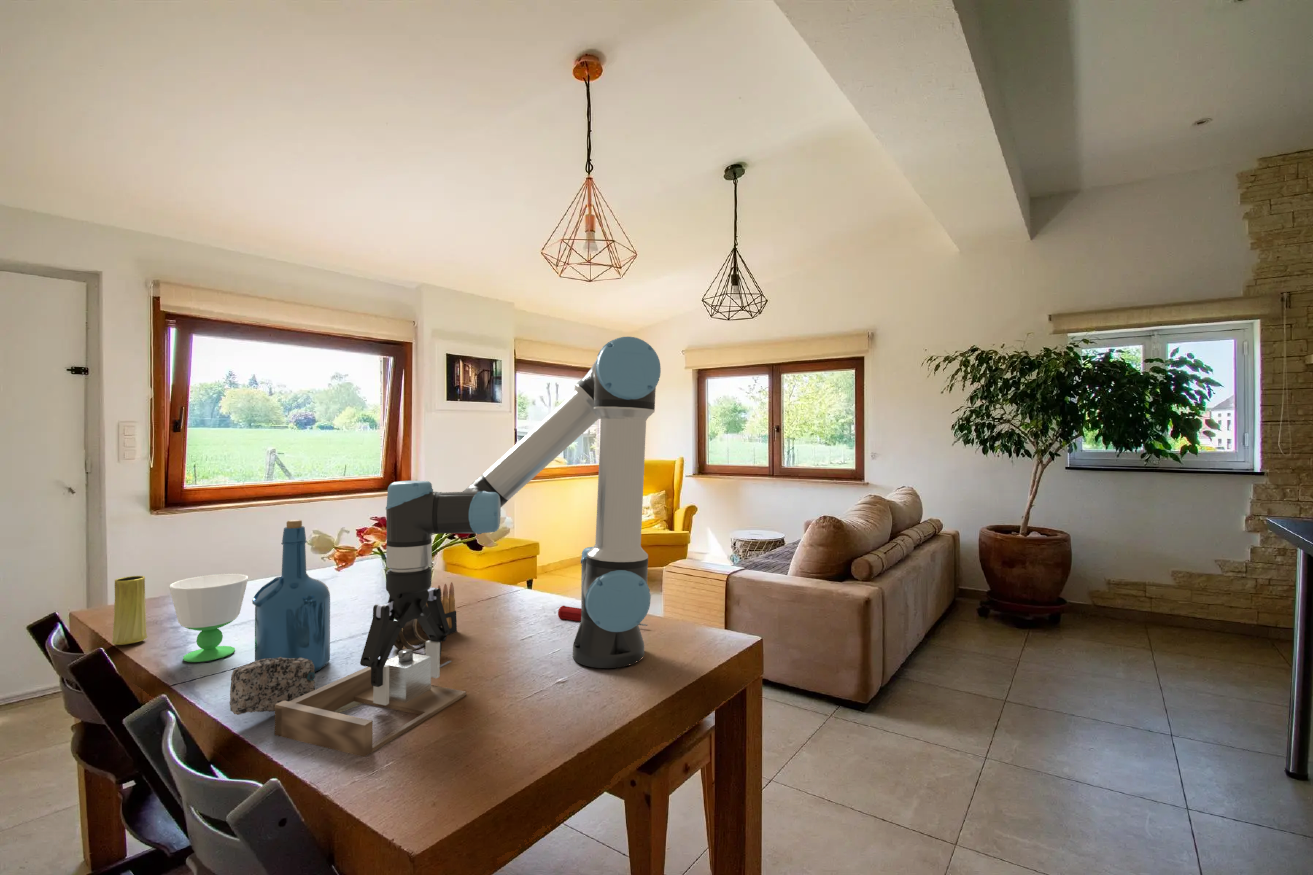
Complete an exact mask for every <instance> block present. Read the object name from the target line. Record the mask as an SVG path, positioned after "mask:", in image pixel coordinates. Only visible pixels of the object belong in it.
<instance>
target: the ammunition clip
mask: <svg viewBox="0 0 1313 875" xmlns="http://www.w3.org/2000/svg"><path fill="white" fill-rule="evenodd" d="M431 587H432V588H435V587H434V586H431ZM437 588H440V590H441V591H442V592H441V602H442V605H443V608H444V612H445V615H446V619H447V622H448V625H449V629H450V632H449V634H448V635H450V634H453V633H456V632H458V630H457V629H458V628H457V627H458V626H457V625H458V624H457V622H458V620H457V610H456V598H455V587H454V583H453V581H452V582H450V584H449V588H448V585H447V583H445V584H443V589H442V587H441V586H440V585H437ZM426 605H427V603H426ZM427 607H428V605H427ZM445 635H446V634H445ZM446 636H447V635H446Z"/></svg>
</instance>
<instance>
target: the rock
mask: <svg viewBox="0 0 1313 875" xmlns="http://www.w3.org/2000/svg"><path fill="white" fill-rule="evenodd" d="M315 672H316V671H315ZM315 672H314V664H313V662H312V660H308V659H304V658H301V657H300V658H291V659H290V658H289V659H288V658H282V657H278V658H267V659H262V660H257V661H255V660H254V661H252V662H250V663H247V664H242V665H241V666H238V667H236V668H235V669H233V670H232V673H231V676H230V690H229V696H230V697H229V708H230V709H229V710H230V712H231V713H233V714H234V715H236V716H239V715H242V714H246V713H257V712H258V713H262V712H275V704H277V703H279V702H282V701H288V702H289V701H291V700H293V699H296V698H298V697H300V696H302V695H305V694H307V693H309V692H311V691H314V690H316V687H315V684H316V682H315V679H316V673H315Z"/></svg>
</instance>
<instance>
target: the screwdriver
mask: <svg viewBox="0 0 1313 875" xmlns="http://www.w3.org/2000/svg"><path fill="white" fill-rule="evenodd" d="M557 616H558V619H560V620H565V619H566V621H572V620H574V622H578V621H581V608H579V607H574V606H573V607H572V606H567V605H562V606H560V607H559V609H558V611H557ZM638 625H639V626H645V627H647V626H648V624H646V623H642V622H640V623H639V624H638Z"/></svg>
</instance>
